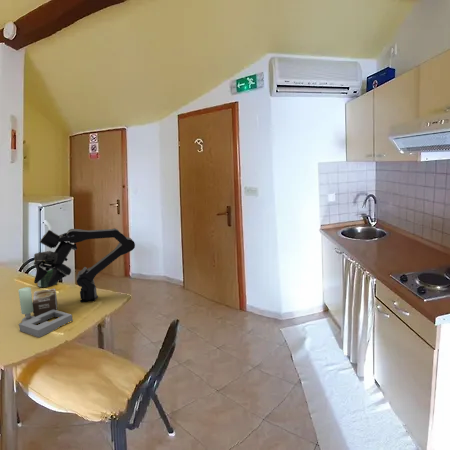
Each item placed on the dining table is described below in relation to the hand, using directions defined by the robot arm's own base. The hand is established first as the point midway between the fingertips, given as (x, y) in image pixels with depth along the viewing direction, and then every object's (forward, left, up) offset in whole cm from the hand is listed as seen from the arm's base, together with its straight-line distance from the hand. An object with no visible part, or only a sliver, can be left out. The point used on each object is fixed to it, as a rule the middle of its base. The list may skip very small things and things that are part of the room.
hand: (41, 284), depth 147 cm
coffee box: (+5, -13, -10) cm, 17 cm away
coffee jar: (+16, -36, -14) cm, 42 cm away
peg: (+4, +7, -13) cm, 15 cm away
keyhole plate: (-6, +12, -13) cm, 19 cm away
